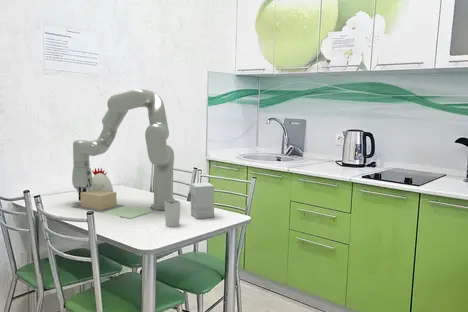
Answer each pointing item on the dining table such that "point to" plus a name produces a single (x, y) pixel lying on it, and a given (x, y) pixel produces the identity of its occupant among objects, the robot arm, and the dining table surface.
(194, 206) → the supplement box
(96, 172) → the grey domed piece
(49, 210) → the dining table surface
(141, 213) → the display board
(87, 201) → the kraft carton
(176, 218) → the drinking glass
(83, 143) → the robot arm
